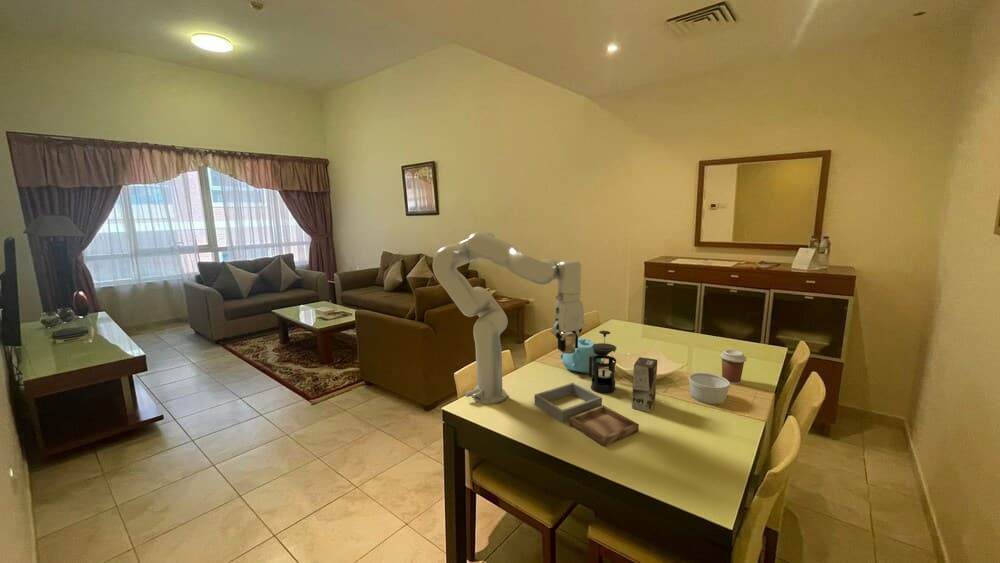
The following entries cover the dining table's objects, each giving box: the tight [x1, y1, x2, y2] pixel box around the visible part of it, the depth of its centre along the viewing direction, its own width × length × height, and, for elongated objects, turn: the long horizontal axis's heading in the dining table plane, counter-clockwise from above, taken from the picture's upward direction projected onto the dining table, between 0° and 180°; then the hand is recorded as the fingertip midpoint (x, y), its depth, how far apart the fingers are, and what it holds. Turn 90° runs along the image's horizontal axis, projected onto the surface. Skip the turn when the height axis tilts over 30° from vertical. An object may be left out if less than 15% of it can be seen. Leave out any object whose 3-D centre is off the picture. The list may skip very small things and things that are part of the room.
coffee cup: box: [719, 348, 748, 385], centre depth 160 cm, size 9×9×12 cm
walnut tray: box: [569, 404, 640, 448], centre depth 128 cm, size 15×15×2 cm
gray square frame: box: [534, 382, 603, 424], centre depth 143 cm, size 18×15×4 cm
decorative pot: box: [559, 337, 603, 374], centre depth 176 cm, size 16×16×14 cm
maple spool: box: [560, 332, 576, 354], centre depth 139 cm, size 5×5×6 cm
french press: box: [588, 330, 617, 395], centre depth 155 cm, size 12×9×23 cm
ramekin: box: [688, 372, 731, 405], centre depth 147 cm, size 13×13×7 cm
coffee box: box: [631, 356, 658, 413], centre depth 142 cm, size 9×6×16 cm
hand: (567, 348), depth 139 cm, fingers closed on maple spool, 4 cm apart
